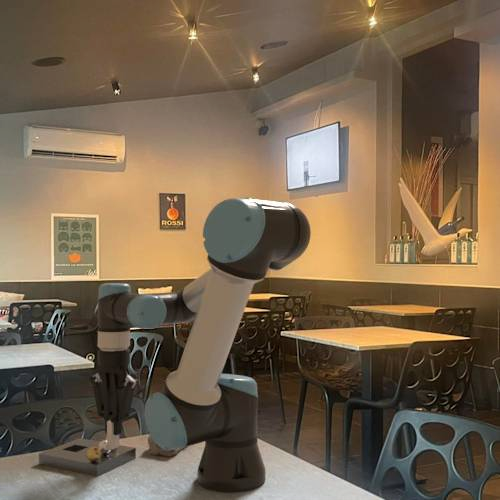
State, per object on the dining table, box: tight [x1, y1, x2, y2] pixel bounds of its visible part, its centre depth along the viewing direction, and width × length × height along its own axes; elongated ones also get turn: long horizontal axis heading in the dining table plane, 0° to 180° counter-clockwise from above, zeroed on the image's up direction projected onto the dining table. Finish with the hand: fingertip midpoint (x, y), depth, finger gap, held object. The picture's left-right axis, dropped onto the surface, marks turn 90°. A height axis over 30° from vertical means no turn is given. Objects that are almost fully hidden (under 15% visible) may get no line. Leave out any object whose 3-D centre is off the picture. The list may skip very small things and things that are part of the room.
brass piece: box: [87, 447, 101, 462], centre depth 141 cm, size 3×3×3 cm
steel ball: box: [98, 439, 111, 454], centre depth 146 cm, size 3×3×3 cm
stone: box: [147, 434, 182, 457], centre depth 158 cm, size 13×6×10 cm
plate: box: [38, 437, 137, 477], centre depth 148 cm, size 18×14×2 cm
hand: (113, 447), depth 145 cm, fingers closed
